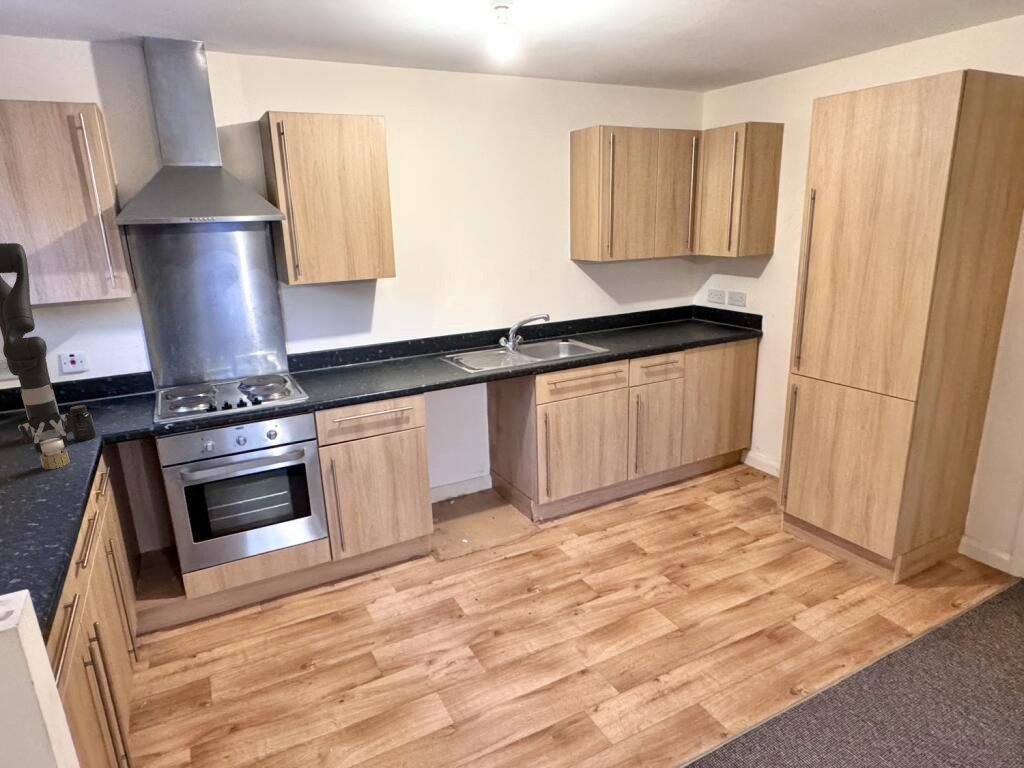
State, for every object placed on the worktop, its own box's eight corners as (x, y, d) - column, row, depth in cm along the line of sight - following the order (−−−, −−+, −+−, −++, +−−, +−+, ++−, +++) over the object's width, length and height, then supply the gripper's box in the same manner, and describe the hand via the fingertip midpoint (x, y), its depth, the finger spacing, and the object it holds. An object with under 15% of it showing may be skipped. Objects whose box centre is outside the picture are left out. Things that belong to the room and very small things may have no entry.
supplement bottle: (100, 434, 227) (93, 403, 224) (89, 441, 221) (81, 409, 217) (81, 435, 227) (74, 404, 224) (69, 442, 220) (61, 410, 217)
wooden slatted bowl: (40, 466, 199) (37, 454, 198) (65, 459, 205) (62, 447, 203) (47, 471, 195) (44, 459, 194) (72, 463, 200) (69, 452, 199)
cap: (39, 457, 199) (35, 442, 197) (62, 450, 203) (58, 436, 202) (45, 461, 195) (41, 447, 193) (69, 455, 200) (65, 440, 198)
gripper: (61, 392, 201) (74, 440, 206) (7, 404, 191) (21, 454, 195) (69, 396, 197) (82, 445, 202) (14, 408, 186) (29, 459, 191)
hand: (52, 449), depth 198 cm, fingers closed on cap, 6 cm apart
